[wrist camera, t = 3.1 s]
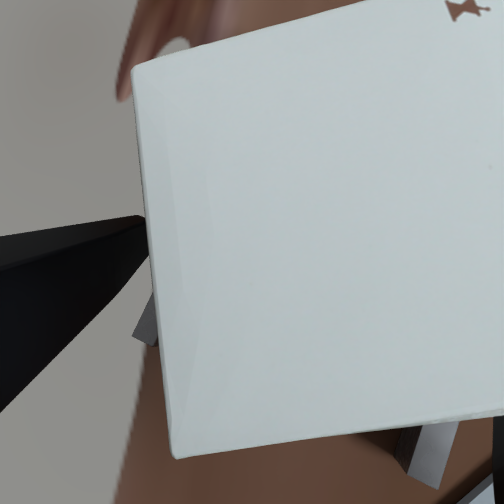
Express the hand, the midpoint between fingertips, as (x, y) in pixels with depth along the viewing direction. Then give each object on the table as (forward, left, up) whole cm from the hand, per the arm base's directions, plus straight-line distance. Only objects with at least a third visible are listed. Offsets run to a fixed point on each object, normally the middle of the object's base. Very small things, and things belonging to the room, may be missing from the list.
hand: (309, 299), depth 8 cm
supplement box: (+2, +1, -10) cm, 10 cm away
